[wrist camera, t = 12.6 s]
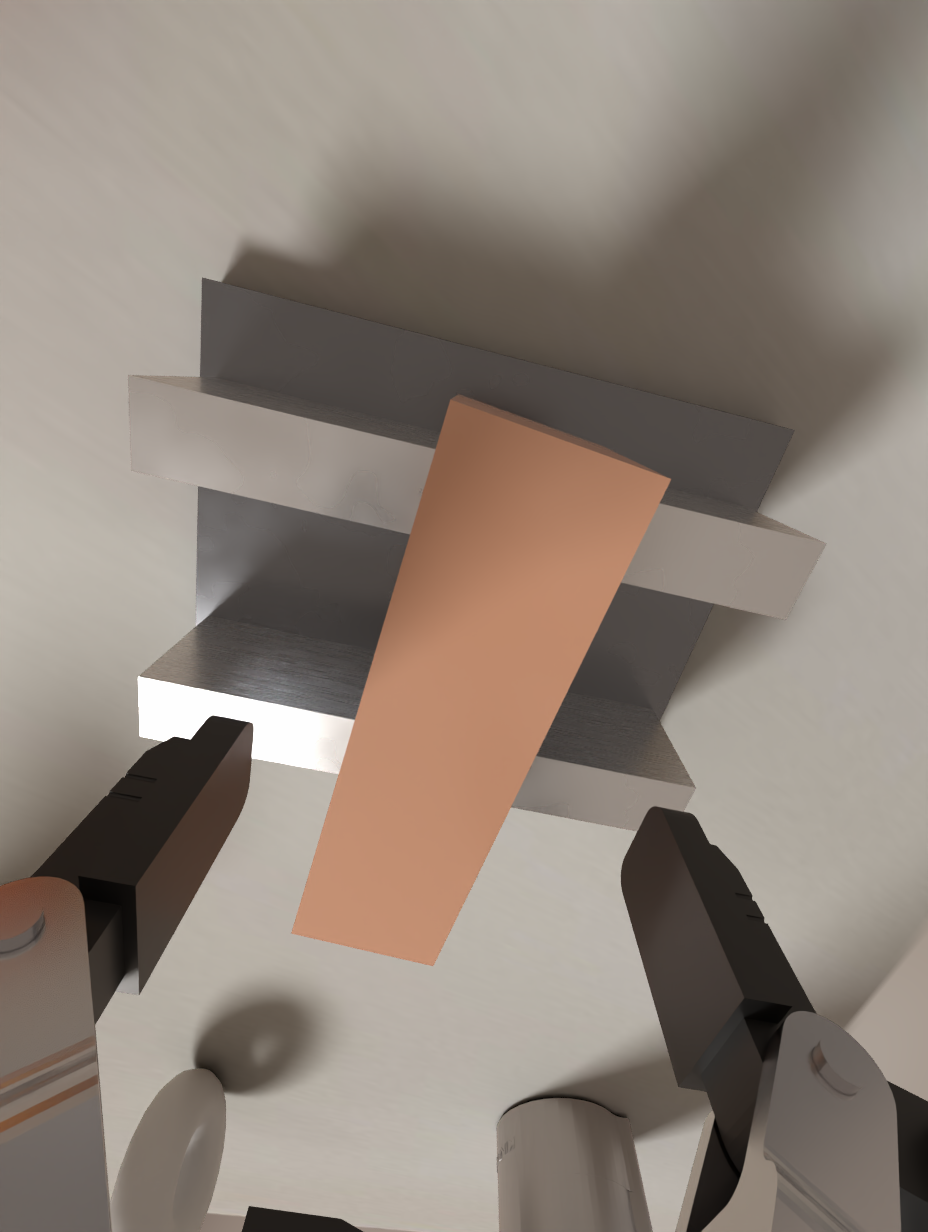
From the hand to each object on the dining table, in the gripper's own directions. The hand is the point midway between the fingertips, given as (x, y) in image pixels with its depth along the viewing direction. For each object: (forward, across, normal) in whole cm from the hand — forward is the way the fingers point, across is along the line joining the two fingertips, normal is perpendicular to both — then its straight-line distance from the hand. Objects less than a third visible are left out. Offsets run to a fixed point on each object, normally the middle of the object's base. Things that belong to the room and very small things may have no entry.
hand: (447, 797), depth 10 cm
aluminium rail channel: (+12, 0, 0) cm, 12 cm away
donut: (+13, +9, +41) cm, 44 cm away
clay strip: (+6, 0, 0) cm, 6 cm away
